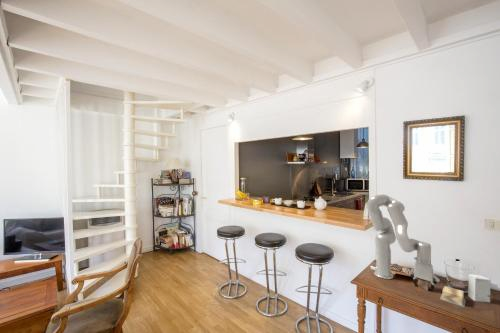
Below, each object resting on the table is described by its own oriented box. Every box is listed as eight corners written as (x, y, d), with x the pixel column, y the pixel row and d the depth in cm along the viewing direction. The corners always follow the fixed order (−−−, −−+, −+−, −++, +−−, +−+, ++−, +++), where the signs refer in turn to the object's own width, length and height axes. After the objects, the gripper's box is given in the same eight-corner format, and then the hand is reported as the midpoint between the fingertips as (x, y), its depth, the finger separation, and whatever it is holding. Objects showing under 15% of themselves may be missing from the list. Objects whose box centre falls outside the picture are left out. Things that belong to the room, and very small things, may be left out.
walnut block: (418, 289, 155) (418, 279, 155) (419, 286, 158) (419, 276, 158) (427, 292, 151) (427, 281, 151) (428, 289, 155) (429, 279, 154)
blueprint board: (430, 298, 144) (430, 296, 144) (434, 290, 154) (434, 288, 154) (475, 313, 130) (475, 311, 130) (476, 303, 139) (476, 301, 139)
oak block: (442, 299, 142) (442, 290, 142) (444, 293, 148) (444, 285, 148) (462, 305, 135) (462, 296, 135) (463, 299, 142) (463, 291, 142)
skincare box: (474, 302, 140) (475, 278, 140) (467, 297, 146) (467, 273, 146) (491, 304, 138) (491, 279, 138) (482, 298, 144) (483, 274, 144)
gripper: (406, 259, 158) (406, 284, 158) (439, 267, 146) (439, 294, 146) (409, 256, 163) (409, 280, 163) (441, 263, 151) (441, 290, 151)
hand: (423, 287), depth 155 cm, fingers open, 8 cm apart
